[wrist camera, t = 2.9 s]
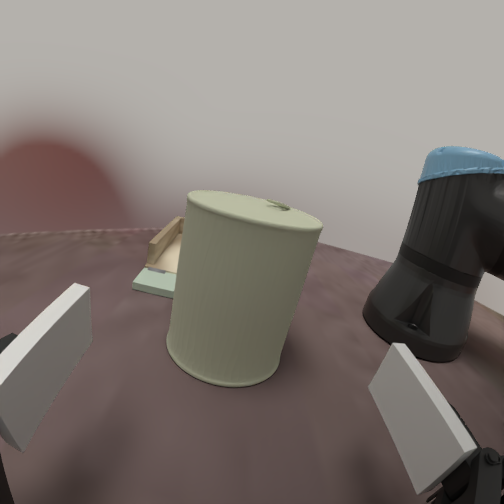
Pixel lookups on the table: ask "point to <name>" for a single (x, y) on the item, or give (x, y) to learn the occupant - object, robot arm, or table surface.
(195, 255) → the can
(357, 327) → the table surface
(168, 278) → the tailgate
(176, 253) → the tray
